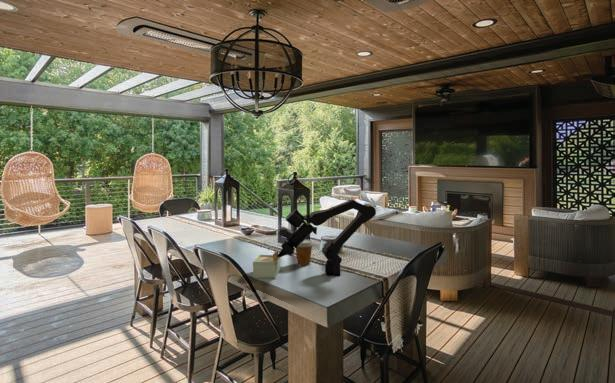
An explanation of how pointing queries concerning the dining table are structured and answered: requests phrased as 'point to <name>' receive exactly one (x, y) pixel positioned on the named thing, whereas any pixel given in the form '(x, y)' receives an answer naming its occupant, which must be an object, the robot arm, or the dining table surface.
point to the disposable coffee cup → (304, 252)
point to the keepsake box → (265, 268)
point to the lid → (270, 258)
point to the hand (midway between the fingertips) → (278, 256)
